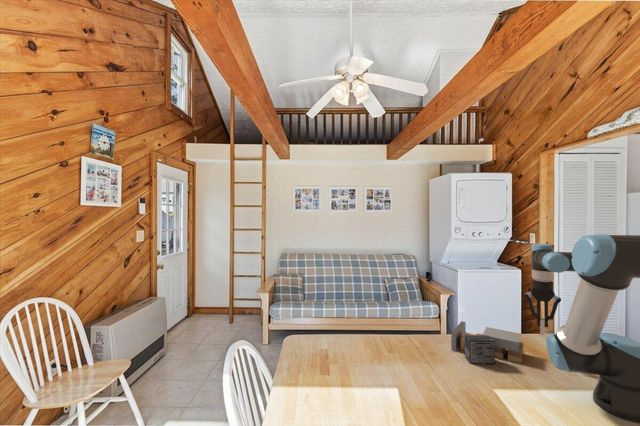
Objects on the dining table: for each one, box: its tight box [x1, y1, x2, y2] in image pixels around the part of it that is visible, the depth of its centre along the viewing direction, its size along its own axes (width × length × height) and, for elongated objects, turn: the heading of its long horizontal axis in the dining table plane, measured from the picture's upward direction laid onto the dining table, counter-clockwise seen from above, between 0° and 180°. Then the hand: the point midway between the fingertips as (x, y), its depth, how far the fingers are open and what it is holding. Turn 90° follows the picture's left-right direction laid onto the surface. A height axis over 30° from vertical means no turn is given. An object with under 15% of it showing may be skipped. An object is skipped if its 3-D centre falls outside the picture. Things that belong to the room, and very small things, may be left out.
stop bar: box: [450, 321, 467, 352], centre depth 152 cm, size 20×2×8 cm, turn 142°
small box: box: [464, 334, 496, 366], centre depth 134 cm, size 11×6×10 cm, turn 84°
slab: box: [481, 326, 522, 352], centre depth 141 cm, size 12×14×4 cm
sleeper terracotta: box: [460, 332, 476, 351], centre depth 149 cm, size 11×4×4 cm, turn 142°
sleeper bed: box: [475, 333, 524, 364], centre depth 142 cm, size 11×19×5 cm, turn 52°
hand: (542, 333), depth 131 cm, fingers closed
